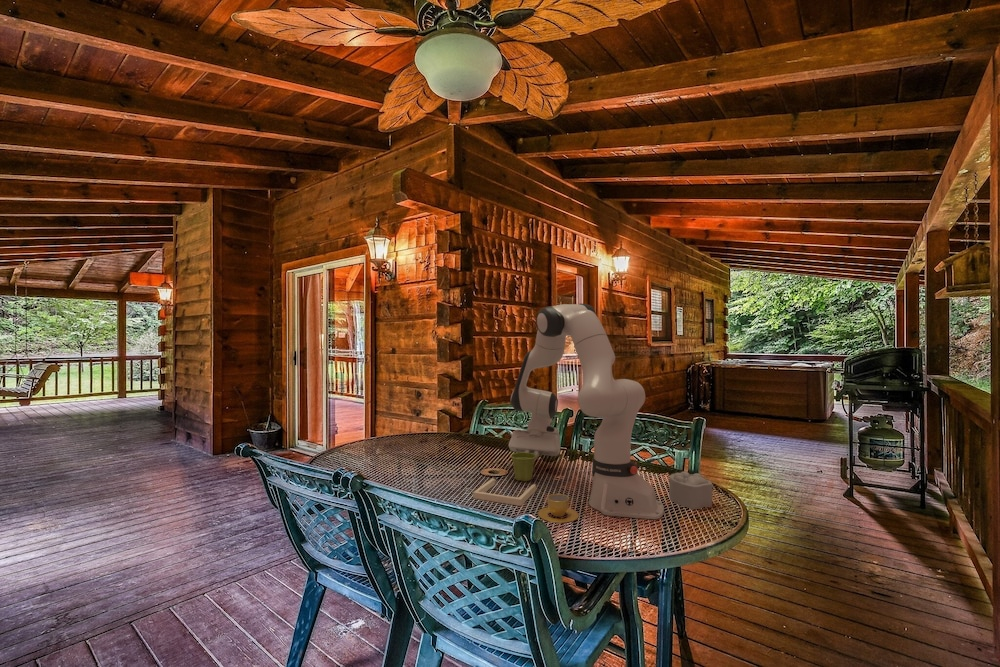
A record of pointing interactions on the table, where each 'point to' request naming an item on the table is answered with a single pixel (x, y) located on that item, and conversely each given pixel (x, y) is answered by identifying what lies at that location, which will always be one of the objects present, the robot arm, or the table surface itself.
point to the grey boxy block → (690, 490)
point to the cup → (558, 509)
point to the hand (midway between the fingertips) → (529, 462)
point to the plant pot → (523, 465)
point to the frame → (501, 498)
